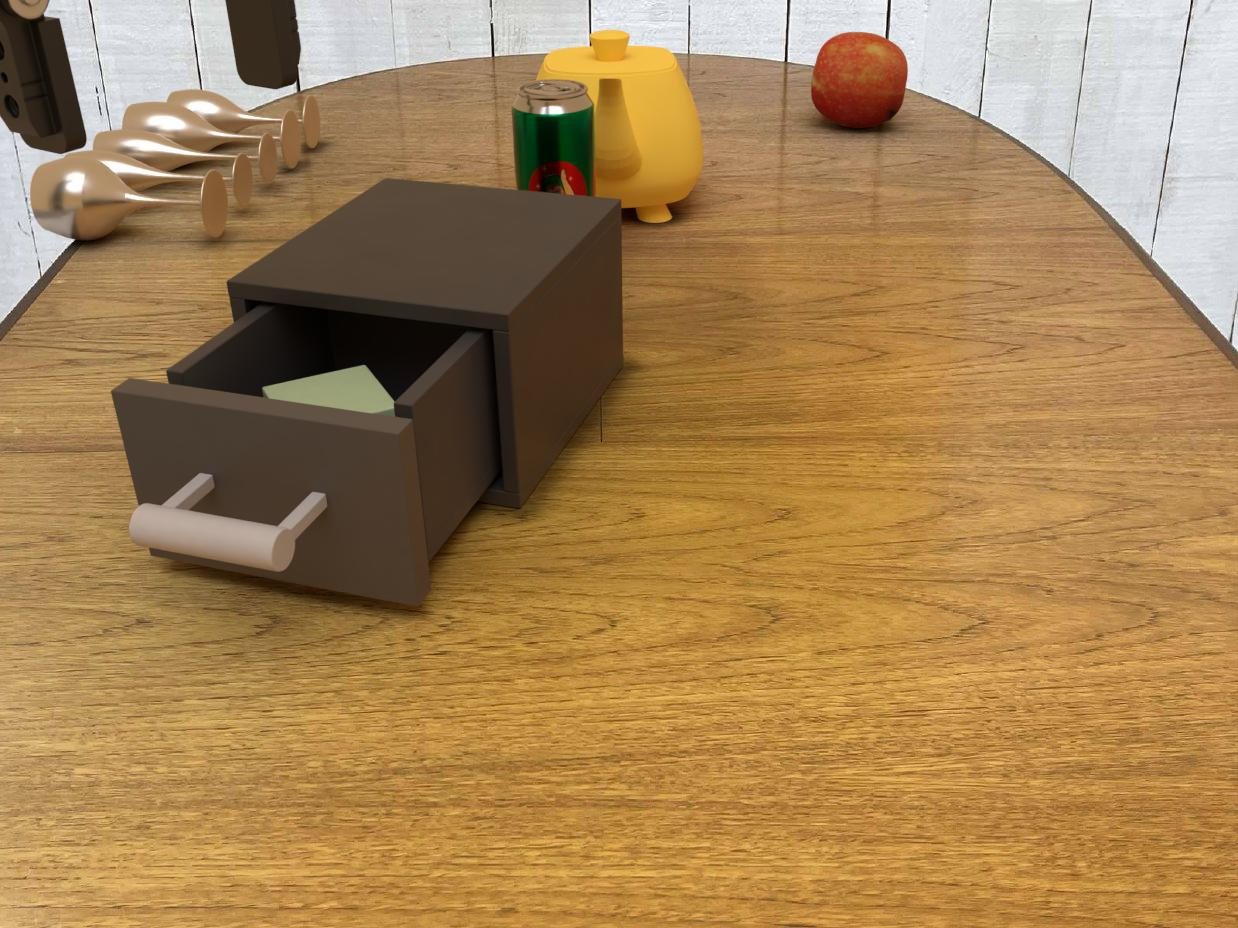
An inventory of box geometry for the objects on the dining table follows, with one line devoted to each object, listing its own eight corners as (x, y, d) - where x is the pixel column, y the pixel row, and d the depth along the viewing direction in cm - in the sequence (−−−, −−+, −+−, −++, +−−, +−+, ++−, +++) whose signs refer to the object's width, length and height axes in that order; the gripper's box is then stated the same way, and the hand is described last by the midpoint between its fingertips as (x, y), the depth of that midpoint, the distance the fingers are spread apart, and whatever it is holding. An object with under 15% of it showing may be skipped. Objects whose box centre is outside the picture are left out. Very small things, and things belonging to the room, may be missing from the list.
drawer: (367, 675, 46) (340, 493, 42) (83, 616, 49) (33, 442, 45) (548, 436, 61) (541, 286, 57) (322, 403, 65) (301, 259, 61)
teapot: (515, 258, 85) (505, 70, 78) (527, 168, 102) (519, 8, 96) (714, 254, 85) (719, 66, 78) (692, 165, 102) (695, 5, 96)
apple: (825, 110, 116) (832, 20, 112) (915, 120, 113) (925, 27, 109) (797, 132, 110) (803, 37, 106) (891, 143, 107) (900, 46, 103)
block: (305, 528, 52) (289, 431, 50) (277, 478, 56) (261, 386, 54) (410, 500, 54) (399, 406, 52) (376, 454, 58) (365, 363, 55)
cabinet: (520, 509, 57) (508, 314, 52) (259, 466, 61) (225, 281, 56) (623, 365, 70) (621, 198, 65) (403, 337, 74) (385, 177, 69)
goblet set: (323, 148, 110) (176, 142, 111) (316, 81, 107) (166, 76, 108) (206, 257, 86) (19, 249, 87) (193, 174, 83) (0, 167, 84)
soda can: (548, 254, 85) (540, 73, 79) (612, 267, 83) (609, 82, 77) (505, 279, 81) (493, 91, 75) (570, 293, 79) (564, 101, 73)
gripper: (167, -481, 39) (253, 58, 47) (-332, -554, 28) (-112, 155, 37) (349, -507, 35) (407, 81, 43) (-146, -600, 25) (52, 195, 33)
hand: (170, 114), depth 40 cm, fingers open, 8 cm apart
